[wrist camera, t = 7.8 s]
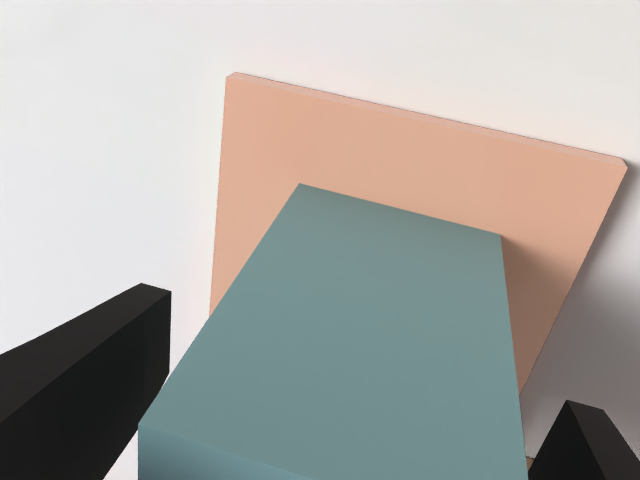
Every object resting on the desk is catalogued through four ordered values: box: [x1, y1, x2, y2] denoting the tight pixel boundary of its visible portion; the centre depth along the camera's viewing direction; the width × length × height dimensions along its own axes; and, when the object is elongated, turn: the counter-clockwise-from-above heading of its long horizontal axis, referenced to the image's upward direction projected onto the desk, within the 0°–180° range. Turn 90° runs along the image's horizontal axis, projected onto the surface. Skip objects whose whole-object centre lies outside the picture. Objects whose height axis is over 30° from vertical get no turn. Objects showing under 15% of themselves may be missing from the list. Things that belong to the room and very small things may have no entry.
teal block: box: [138, 183, 528, 480], centre depth 10 cm, size 4×4×7 cm
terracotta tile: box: [209, 72, 628, 396], centre depth 13 cm, size 8×8×1 cm
